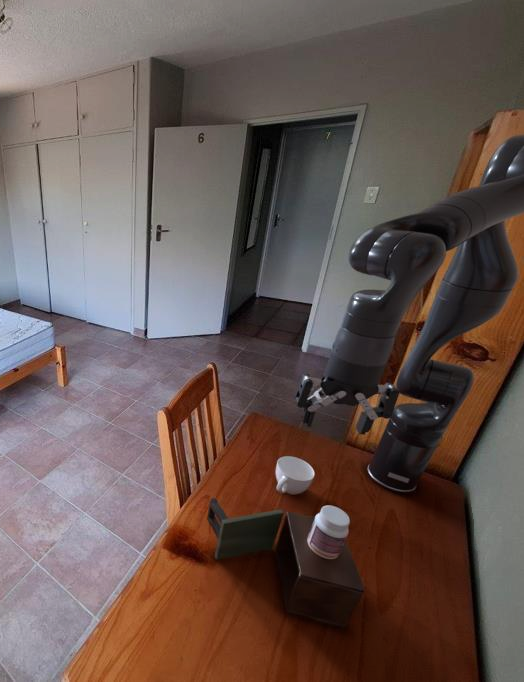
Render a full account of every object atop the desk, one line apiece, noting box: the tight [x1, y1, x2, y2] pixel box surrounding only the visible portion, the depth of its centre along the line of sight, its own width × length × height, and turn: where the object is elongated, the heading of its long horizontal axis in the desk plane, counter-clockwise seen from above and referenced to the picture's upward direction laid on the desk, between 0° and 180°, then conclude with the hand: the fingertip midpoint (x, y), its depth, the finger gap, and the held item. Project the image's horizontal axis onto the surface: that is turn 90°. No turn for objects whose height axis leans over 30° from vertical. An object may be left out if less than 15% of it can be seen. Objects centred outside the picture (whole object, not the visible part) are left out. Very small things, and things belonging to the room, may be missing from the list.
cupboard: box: [274, 511, 366, 630], centre depth 67 cm, size 9×13×12 cm
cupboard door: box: [206, 497, 285, 561], centre depth 76 cm, size 7×13×11 cm, turn 99°
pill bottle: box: [308, 504, 351, 559], centre depth 62 cm, size 5×5×8 cm
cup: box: [275, 455, 316, 496], centre depth 87 cm, size 8×10×7 cm
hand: (333, 427), depth 67 cm, fingers open, 8 cm apart
